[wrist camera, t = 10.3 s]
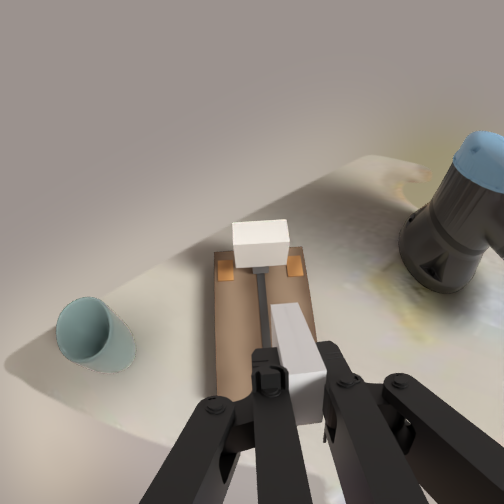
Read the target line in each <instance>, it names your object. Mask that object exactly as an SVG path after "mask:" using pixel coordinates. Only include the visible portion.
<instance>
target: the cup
mask: <svg viewBox="0 0 504 504" xmlns="http://www.w3.org/2000/svg"><path fill="white" fill-rule="evenodd" d="M56 338H57V343H58V346H59V349H60V351H61V352H62V354H63V355H64V356H65V357H66V358H67V359H68V360H70V361H72V362H73V363H75V364H77V365H79V366H82V367H84V368H86V369H89V370H91V371H95V372H99V373H103V374H114V373H119V372H121V371H124V370H125V369H127V368H128V367H129V366H130V365H131V364H132V363H133V361H134V359H135V355H136V344H135V339H134V337H133V334H132V332H131V330H130V329H129V327H128V326H127V325H126V323H125V322H124V321H123V320H122V319H121V318H120V317H119V316H118V315H117V314H116V313H115V312H114V311H113V310H112V309H111V308H110V307H109V306H108V305H106V304H105V303H104V302H102V301H101V300H99V299H97V298H94V297H83V298H79V299H77V300H75V301H73V302H71V303H70V304H68V305H67V306H66V307H65V308H64V309H63V311H62V312H61V313H60V316H59V318H58V321H57V325H56Z"/></svg>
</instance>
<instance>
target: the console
mask: <svg viewBox="0 0 504 504" xmlns="http://www.w3.org/2000/svg"><path fill="white" fill-rule="evenodd" d="M214 294H215V347H216V378H217V396H223V397H227V398H229V399H230V400H232V402H235V401H238V400H241V399H244V398H245V397H247V396H248V395H249V394H250V393H251V391H252V380H251V374H252V359H251V354H252V353H253V352H254V350H255V349H257V348H270V347H272V328H271V305H273V304H285V303H297V302H298V304H299V306H300V309H301V311H302V313H303V316H304V318H305V320H306V323H307V325H308V327H309V330H310V332H311V334H312V337H313V339H314V341H315V342H317V337H316V330H315V323H314V316H313V310H312V303H311V297H310V290H309V284H308V278H307V272H306V266H305V260H304V255H303V249H302V247H289V251H288V257H287V263H286V265H277V266H269V273H260V274H253V268H252V267H247V268H236V264H235V256H234V251H224V252H214Z"/></svg>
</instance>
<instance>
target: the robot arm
mask: <svg viewBox="0 0 504 504" xmlns="http://www.w3.org/2000/svg"><path fill="white" fill-rule="evenodd" d="M489 247H491V248H492V249H493V250H494V251H495V252H496V253H497V254H498V255H499V256H500V257H501V258H502V259H503V260H504V137H503V136H501V135H498V134H496V133H492V132H487V131H476V132H473V133H471V134H470V135H468V136H467V137H466V139H465V140H464V142H463V144H462V145H461V147H460V149H459V150H458V151H457V152H456V153H455V155H454V157H453V162H452V164H451V166H450V168H449V170H448V172H447V174H446V175H445V177H444V179H443V181H442V183H441V184H440V186H439V188H438V189H437V191H436V193H435V194H434V196H433V198H432V200H431V201H430V202H429V203H427V204H426V205H424V206H423V207H422V208H420V209H419V210H417V211H416V212H415V213H413V214H412V215H411V216H410V217H409V218H408V219H407V221H406V222H405V224H404V226H403V227H402V229H401V232H400V235H399V249H400V254H401V257H402V259H403V261H404V263H405V265H406V267H407V269H408V270H409V272H410V273H411V274H412V275H413V276H414V277H415V279H416V280H418V281H419V282H420V283H421V284H422V285H424V286H425V287H427V288H429V289H431V290H433V291H435V292H439V293H454V292H457V291H459V290H460V289H462V288H463V287H464V286H465V285H466V284H467V283H468V282H470V280H471V279H472V278H473V276H474V274H475V272H476V269H477V267H478V265H479V263H480V260H481V258H482V256H483V253H484V252H485V251H486V250H487V249H488V248H489ZM271 328H272V347H270V348H257V349H255V350H254V352H253V353H252V354H251V359H252V374H251V380H252V391H251V393H250V394H249V395H248V396H247V397H245V398H244V399H241V400H238V401H235V402H232V400H230V399H229V398H227V397H223V396H211V397H207V398H205V399H203V400H201V401H200V402H199V403H198V405H197V406H196V408H195V410H194V412H193V413H192V415H191V417H190V419H189V420H188V422H187V424H186V425H185V427H184V429H183V431H182V432H181V434H180V436H179V437H178V439H177V441H176V443H175V444H174V446H173V448H172V449H171V451H170V453H169V455H168V456H167V458H166V460H165V461H164V463H163V465H162V466H161V468H160V470H159V471H158V473H157V475H156V476H155V478H154V480H153V481H152V483H151V484H150V486H149V488H148V489H147V491H146V493H145V494H144V496H143V498H142V499H141V501H140V503H139V504H223V501H224V498H225V496H226V493H227V490H228V487H229V485H230V482H231V479H232V476H233V474H234V471H235V468H236V465H237V462H238V460H239V457H240V452H241V451H245V450H248V449H251V448H255V453H256V472H257V490H258V504H313V503H312V498H311V493H310V489H309V483H308V479H307V474H306V469H305V464H304V459H303V455H302V450H301V445H300V440H299V435H298V431H297V426H298V425H306V424H313V423H320V422H322V419H323V415H324V418H325V429H324V437H323V443H325V442H326V438H327V440H328V443H329V447H330V450H331V453H332V457H333V460H334V463H335V467H336V470H337V474H338V477H339V480H340V484H341V487H342V491H343V494H344V498H345V501H346V504H429V503H428V501H427V499H426V497H425V495H424V493H423V491H422V489H421V487H420V485H421V486H422V487H423V489H424V490H425V491H426V492H427V493H428V494H429V495H430V496H431V497H432V498H433V499H434V500H435V501H436V502H437V503H438V504H504V447H502V446H501V445H500V444H499V443H497V442H496V441H495V440H493V439H492V438H491V437H490V436H488V435H487V434H486V433H484V432H483V431H482V430H480V429H479V428H478V427H477V426H475V425H474V424H473V423H471V422H470V421H469V420H468V419H466V418H465V417H464V416H462V415H461V414H460V413H459V412H457V411H456V410H455V409H453V408H452V407H451V406H449V405H448V404H447V403H446V402H444V401H443V400H442V399H440V398H439V397H438V396H437V395H435V394H434V393H433V392H431V391H430V390H429V389H428V388H426V387H425V386H424V385H422V384H421V383H420V382H418V381H417V380H416V379H415V378H413V377H412V376H410V375H408V374H404V373H394V374H390V375H389V376H387V377H386V378H385V380H384V383H383V384H373V383H366V382H364V380H363V379H362V378H361V377H360V376H359V375H357V374H355V373H352V372H351V370H350V368H349V366H348V364H347V362H346V360H345V359H344V358H343V355H342V353H341V351H340V349H339V348H338V346H337V345H336V344H334V343H333V342H332V341H323V342H315V341H314V339H313V337H312V334H311V332H310V330H309V327H308V325H307V323H306V320H305V318H304V316H303V313H302V311H301V309H300V306H299V304H298V302H297V303H285V304H273V305H271ZM406 419H407V420H408V421H409V422H410V423H409V422H408V421H407V420H406ZM419 484H420V485H419Z"/></svg>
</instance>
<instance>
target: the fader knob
mask: <svg viewBox="0 0 504 504" xmlns="http://www.w3.org/2000/svg"><path fill="white" fill-rule="evenodd" d="M232 226H233V248H234V256H235V264H236V268H247V267H252V268H253V274H260V273H269V266H277V265H286V263H287V257H288V251H289V244H290V239H289V233H288V226H287V220H286V219H282V220H264V221H248V222H233V223H232Z"/></svg>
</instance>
